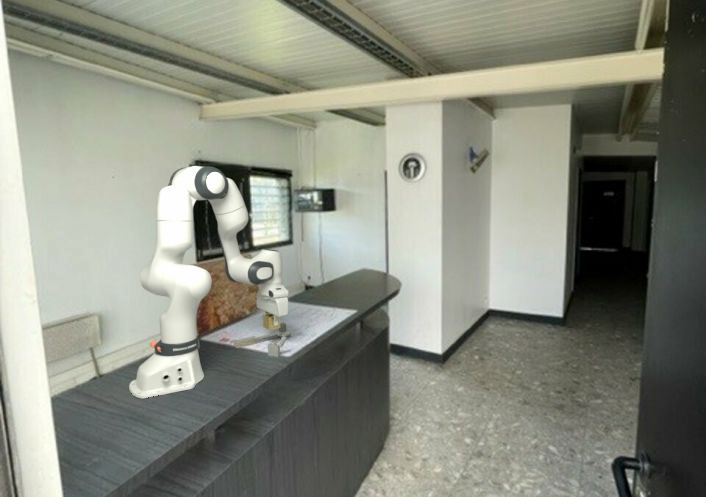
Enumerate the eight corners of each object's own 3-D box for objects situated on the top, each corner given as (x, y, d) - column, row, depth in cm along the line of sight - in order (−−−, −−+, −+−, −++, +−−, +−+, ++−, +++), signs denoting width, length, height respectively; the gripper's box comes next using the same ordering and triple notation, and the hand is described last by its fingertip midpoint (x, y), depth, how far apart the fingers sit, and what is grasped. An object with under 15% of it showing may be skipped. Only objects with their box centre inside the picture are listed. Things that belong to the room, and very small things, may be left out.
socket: (269, 329, 170) (268, 317, 169) (263, 326, 173) (263, 314, 173) (280, 327, 173) (280, 315, 172) (274, 324, 176) (274, 312, 176)
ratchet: (239, 349, 170) (238, 336, 170) (232, 344, 176) (231, 331, 175) (293, 336, 186) (293, 323, 185) (285, 332, 191) (285, 320, 191)
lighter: (268, 355, 164) (267, 335, 163) (270, 354, 165) (269, 334, 164) (285, 357, 162) (284, 337, 161) (287, 356, 164) (286, 335, 162)
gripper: (252, 285, 177) (252, 318, 179) (276, 294, 161) (276, 330, 163) (266, 284, 181) (266, 316, 183) (291, 292, 165) (291, 327, 167)
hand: (271, 323), depth 173 cm, fingers closed on socket, 5 cm apart
